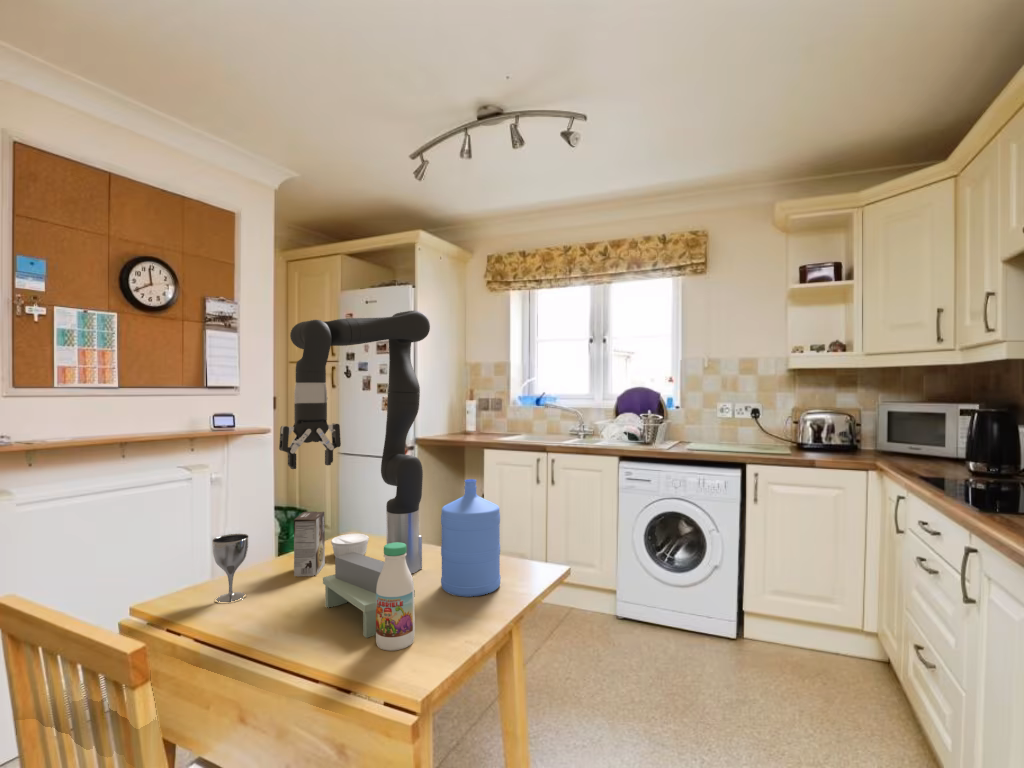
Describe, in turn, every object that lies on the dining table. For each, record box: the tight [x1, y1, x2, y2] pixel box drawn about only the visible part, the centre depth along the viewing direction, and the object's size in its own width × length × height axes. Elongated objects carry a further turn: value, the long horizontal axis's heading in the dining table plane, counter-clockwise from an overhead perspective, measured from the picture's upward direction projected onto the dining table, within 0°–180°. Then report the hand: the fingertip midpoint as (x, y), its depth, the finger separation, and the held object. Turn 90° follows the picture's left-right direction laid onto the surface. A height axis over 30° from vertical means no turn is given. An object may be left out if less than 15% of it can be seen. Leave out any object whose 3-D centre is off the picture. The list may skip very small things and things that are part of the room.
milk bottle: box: [375, 542, 415, 652], centre depth 106 cm, size 8×8×20 cm
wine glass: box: [211, 533, 249, 602], centre depth 129 cm, size 8×8×15 cm
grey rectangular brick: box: [334, 552, 385, 594], centre depth 119 cm, size 5×18×5 cm, turn 52°
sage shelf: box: [322, 573, 416, 639], centre depth 119 cm, size 12×22×7 cm, turn 42°
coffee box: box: [293, 511, 326, 577], centre depth 148 cm, size 9×6×16 cm
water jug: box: [440, 478, 502, 598], centre depth 136 cm, size 16×16×28 cm
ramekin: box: [330, 533, 370, 557], centre depth 162 cm, size 11×11×5 cm
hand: (310, 466), depth 127 cm, fingers open, 8 cm apart
